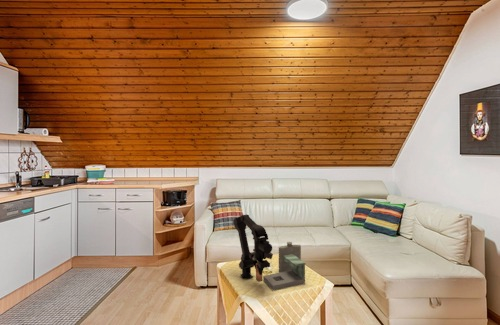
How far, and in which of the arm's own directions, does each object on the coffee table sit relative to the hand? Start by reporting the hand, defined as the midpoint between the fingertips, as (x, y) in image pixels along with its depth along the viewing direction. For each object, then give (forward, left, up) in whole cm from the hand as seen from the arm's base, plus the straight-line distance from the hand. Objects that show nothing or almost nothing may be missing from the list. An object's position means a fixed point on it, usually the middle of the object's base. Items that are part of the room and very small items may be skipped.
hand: (259, 273), depth 171 cm
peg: (0, 0, -4) cm, 4 cm away
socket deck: (0, +17, -9) cm, 19 cm away
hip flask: (-12, +28, -9) cm, 32 cm away
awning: (0, +24, -6) cm, 25 cm away
